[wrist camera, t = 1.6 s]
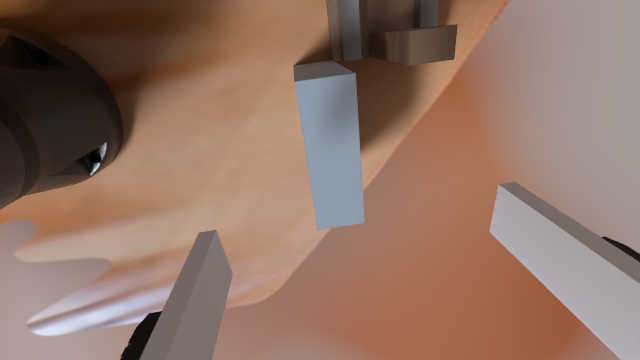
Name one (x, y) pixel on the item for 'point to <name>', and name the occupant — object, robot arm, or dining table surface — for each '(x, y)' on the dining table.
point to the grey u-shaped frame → (389, 31)
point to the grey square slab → (331, 141)
